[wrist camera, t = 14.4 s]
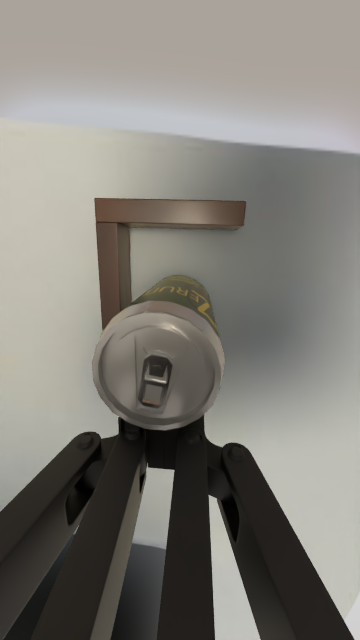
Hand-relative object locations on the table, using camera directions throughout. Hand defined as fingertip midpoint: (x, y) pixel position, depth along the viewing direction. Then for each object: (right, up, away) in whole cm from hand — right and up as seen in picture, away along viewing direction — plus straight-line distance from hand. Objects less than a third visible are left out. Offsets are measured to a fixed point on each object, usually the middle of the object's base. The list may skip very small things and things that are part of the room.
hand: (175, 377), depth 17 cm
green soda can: (0, +5, +3) cm, 6 cm away
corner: (0, +6, +3) cm, 7 cm away
